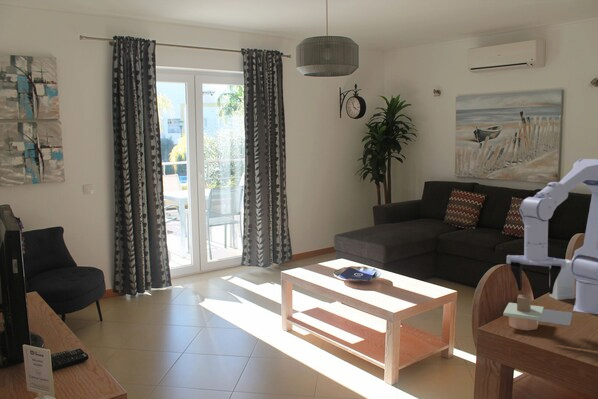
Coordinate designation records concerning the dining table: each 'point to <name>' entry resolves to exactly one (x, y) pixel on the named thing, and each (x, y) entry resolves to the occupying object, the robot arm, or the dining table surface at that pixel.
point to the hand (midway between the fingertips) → (535, 291)
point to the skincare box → (564, 284)
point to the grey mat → (556, 317)
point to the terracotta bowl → (523, 323)
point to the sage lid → (523, 309)
